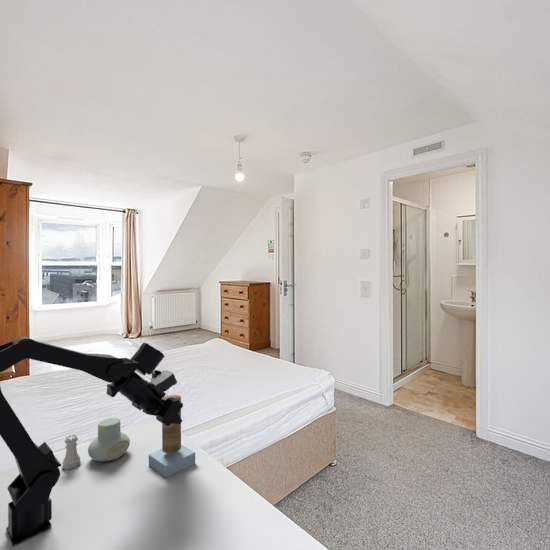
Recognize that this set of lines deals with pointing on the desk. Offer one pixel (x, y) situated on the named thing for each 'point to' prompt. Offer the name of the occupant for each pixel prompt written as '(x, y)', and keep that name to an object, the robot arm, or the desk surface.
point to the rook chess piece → (71, 453)
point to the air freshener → (108, 441)
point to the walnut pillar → (171, 433)
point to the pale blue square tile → (171, 461)
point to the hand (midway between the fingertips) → (176, 419)
